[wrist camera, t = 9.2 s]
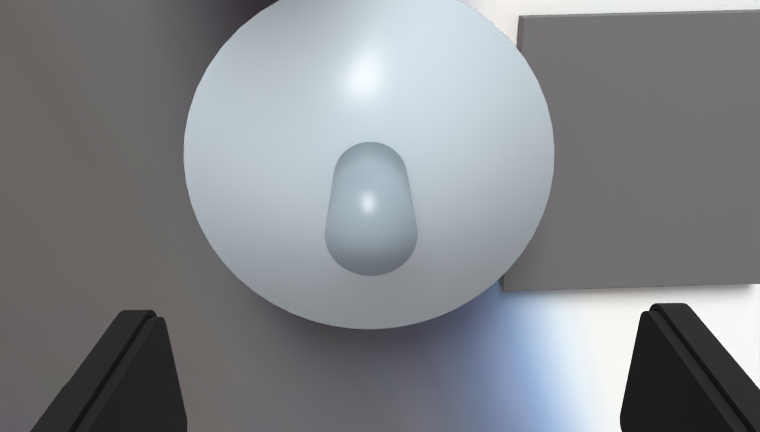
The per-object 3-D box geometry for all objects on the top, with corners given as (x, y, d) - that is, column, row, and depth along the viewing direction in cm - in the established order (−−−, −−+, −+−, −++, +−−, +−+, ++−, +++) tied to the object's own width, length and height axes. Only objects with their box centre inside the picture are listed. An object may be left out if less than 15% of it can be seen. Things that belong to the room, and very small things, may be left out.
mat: (825, 7, 26) (841, 9, 25) (749, 274, 32) (761, 283, 31) (519, 15, 26) (524, 18, 25) (499, 281, 32) (503, 291, 31)
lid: (567, -28, 20) (641, -22, 14) (531, 313, 25) (574, 407, 20) (159, -18, 20) (82, -8, 14) (216, 323, 25) (177, 419, 20)
